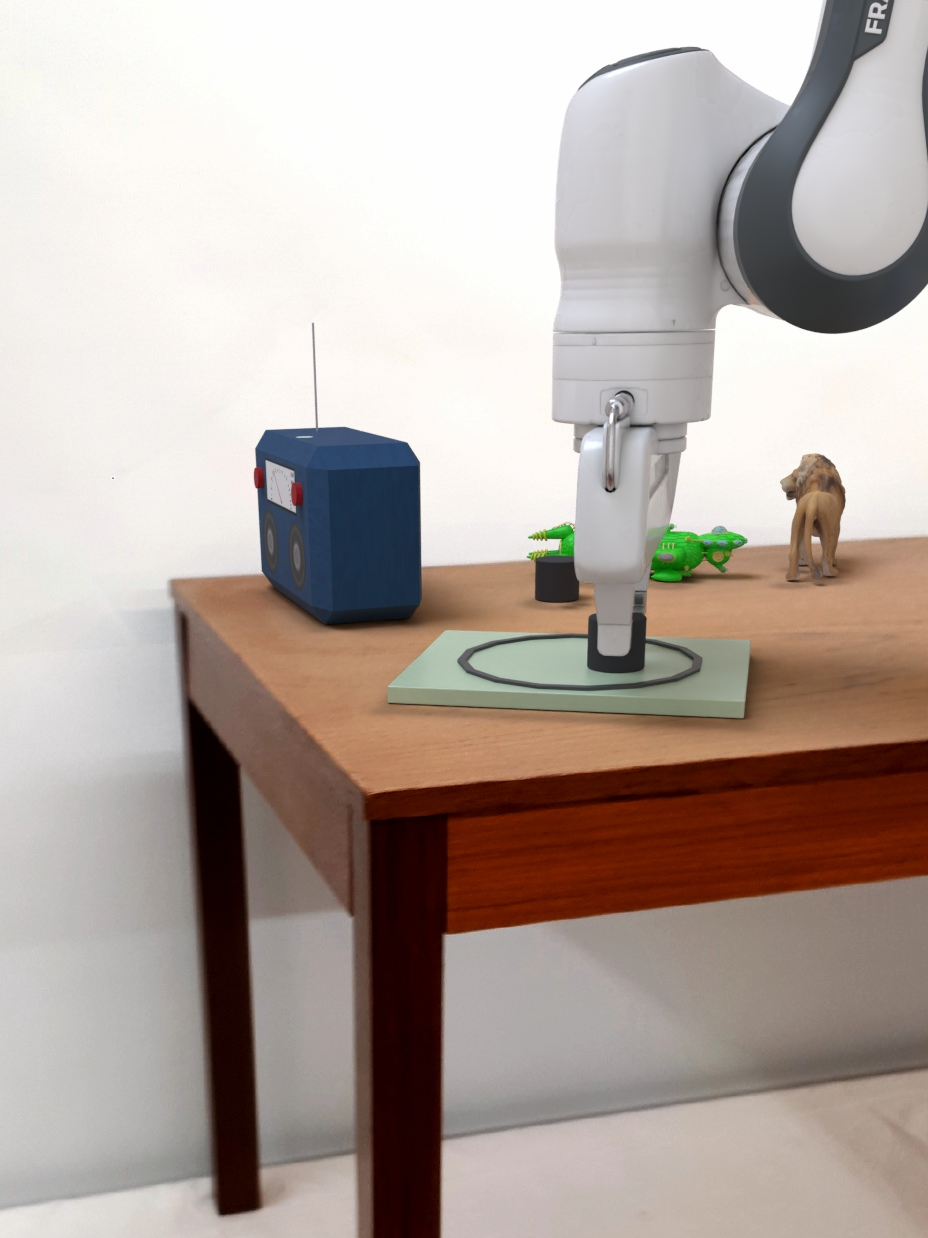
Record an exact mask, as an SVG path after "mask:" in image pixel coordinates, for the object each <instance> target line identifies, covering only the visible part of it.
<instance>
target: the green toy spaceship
mask: <svg viewBox="0 0 928 1238" xmlns="http://www.w3.org/2000/svg"><path fill="white" fill-rule="evenodd" d="M674 528H676V524H674V523H673V522H670V523H669V527H668V530H667V532H666V533H665V535H664V537H663V539H662V541H661V543H660V545H659V547H658V549H657V551H656V553H655V555H654V557H653V559H652V564H651V570H650V571H654V572H653V575H650V578H652V579H653V580H655V581H659V582H681V580H682V579H683V577H691V576H692V571H693V570H694V569H696V568H697V567H698V566H700V565H701V564H702V562H707V563H709V564H710V565H712V566H714V568H716V569H717V570H718V571H719V572H720V573H721V574H724V573H726V572H729V569H727V567H726V566H724V565H726V564H727V563H728V562H729V561H730V559H731V558H732V557H734V556H735V555H734V554H733V550H737V549H739V548H741V547H744V545H746V544H748V543H749V542H748V540H749V539H748V538H747V537H745V536H744V535H742V534H740V533H736V532H733V531H728V529H727V528H726V527H725V526H724V525H715V527H713V528H712V529H711V532H708V533H703V534H699V535H698V534H697V533H695V532H691V531H681V530H680V531H676V530H675V531H672V530H674ZM527 539H532V540H533V541H535V540H536V541H540V542H542V541H544V542H548V540H560V541H559V544H558V549H552V550H551V549H550V550H548V548H545V549H542V548H541V549H540V550H539V549H537V550H533V551H532V552H528V555H526V558H527V559H530V561H533V563H535V560H536V558H538V557H543V556H555V555H561V556H573V557H574V541H575V523H572V522H569V521H566V522H563V523H561V524H558V525H555V526H553V527H552V528H551V529H547V530H546V528H543V530H539V531H535V533H532V534H531V535H528V536H527Z"/></svg>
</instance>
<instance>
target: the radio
mask: <svg viewBox="0 0 928 1238" xmlns="http://www.w3.org/2000/svg"><path fill="white" fill-rule="evenodd" d="M311 335H312V337H311V338H312V362H313V363H312V364H313V365H312V366H313V388H314V412H315V413H314V414H315V415H314V416H315V417H314V418H315V427H304V428H301V427H300V428H280V429H279V428H277V429H265V430H264V432H263V434H262V435H261V438H260V439H259V441H258V442H257V444H256V446H255V448H254V452H255V467H254V468H253V483H254V488H255V489H256V490H257V491H256V492H257V508H258V509H257V510H258V526H259V527H258V529H259V545H260V564H261V565H260V566H261V572H262V574H263V575H264V576H265V578H266V579H267V580H268V582H269V583H270V584H271V586H272V587H273V588H274V589H276V590H277V591H279V592H280V593H281V594H282V595H284V596H285V597H286V598H287V599H289V600H290V601H292V602H293V603H294V604H296V605H297V606H299V607H301V608H302V609H303V610H305V612H307V613H309V614H310V615H311V616H313V617H314V618H315V619H317V620H318V621H320V622H321V623H323V624H324V625H335V624H347V623H358V622H359V623H361V622H372V621H386V620H399V619H410V618H412V616H413V614H414V613H415V612H416V611H417V609H418V608H419V606H420V605H421V603H422V598H423V586H422V585H423V584H422V583H423V581H422V579H423V578H422V574H423V573H422V515H421V514H422V505H421V504H422V503H421V499H422V497H421V494H422V493H421V461H420V460H419V457H417V455H416V453H415V452H414V450H413V449H412V447H411V445H410V444H409V442H407V441H403V440H399V439H396V438H392V437H387V436H383V435H379V434H376V433H372V432H369V431H363V430H359V429H356V428H352V427H349V426H326V427H325V426H323V427H319V419H318V393H317V392H318V389H317V368H316V367H317V365H316V340H315V338H316V337H315V336H316V335H315V322H311Z"/></svg>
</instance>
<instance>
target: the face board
mask: <svg viewBox="0 0 928 1238" xmlns="http://www.w3.org/2000/svg"><path fill="white" fill-rule="evenodd" d="M751 647H752V640H751V639H735V638H734V639H732V638H702V637H701V638H699V637H675V636H674V637H673V636H672V637H670V636H646V645H645V666H644V668H643V669H642V670H639V671H636V672H630V673H605V672H598V671H594V670H591V669H589V668H588V667H587V648H588V633H576V632H575V633H573V632H572V633H569V632H568V633H551V632H549V633H548V632H521V631H519V632H518V631H517V632H516V631H486V630H457V629H456V630H453V629H446V630H444V631H443V632H442V633H441V634H440V635H438V637H437V638H436V639H435V640H434V641H433V642H432V643H431V644H430V645H429V646H428V647H427V648H426V649H425V650H423V651H422V652H421V654H419V655H418V656H417V657H416V658H415V659H414V660H413V661H412V662H411V663H410V664H409V665H408V666H407V667H406V668H405V669H404V670H403V671H402V672H401V673H399V675H398V676H397V677H396V678H395V679H393V680H392V681H391V683H389V684H388V686H387V703H388V704H403V705H423V706H426V705H427V706H449V707H469V708H470V707H472V708H473V707H474V708H495V709H499V708H500V709H514V710H515V709H517V710H519V709H520V710H539V711H540V710H541V711H563V712H564V711H565V712H587V713H608V714H609V713H610V714H630V715H633V714H634V715H653V716H654V715H655V716H656V715H657V716H678V717H679V716H680V717H698V718H699V717H700V718H721V719H724V718H727V719H744V718H745V712H746V711H745V710H746V709H745V708H746V700H747V690H748V682H749V681H748V680H749V669H750V660H751Z"/></svg>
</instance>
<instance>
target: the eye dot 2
mask: <svg viewBox="0 0 928 1238" xmlns="http://www.w3.org/2000/svg"><path fill="white" fill-rule="evenodd" d="M587 619H588V620H587V621H588V622H587V634H588V648H587V667H588V668H589V669H591V670H594V671H598V672H605V673H630V672H636V671H639V670H642V669H643V668H644V666H645V645H646V637H647V622H648V621H647V620H648V618H647V616H646V614H645V615H642V614H639V613H634V612H632V620H633V624H632V645H631V648H630V650H629V652H628V653H627V654H626V655H624V656H604V655H602V654H601V653H599V651H598V649H597V645H598V622H597V615H596V612H595V613H592V614H590V615H588V618H587Z"/></svg>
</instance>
